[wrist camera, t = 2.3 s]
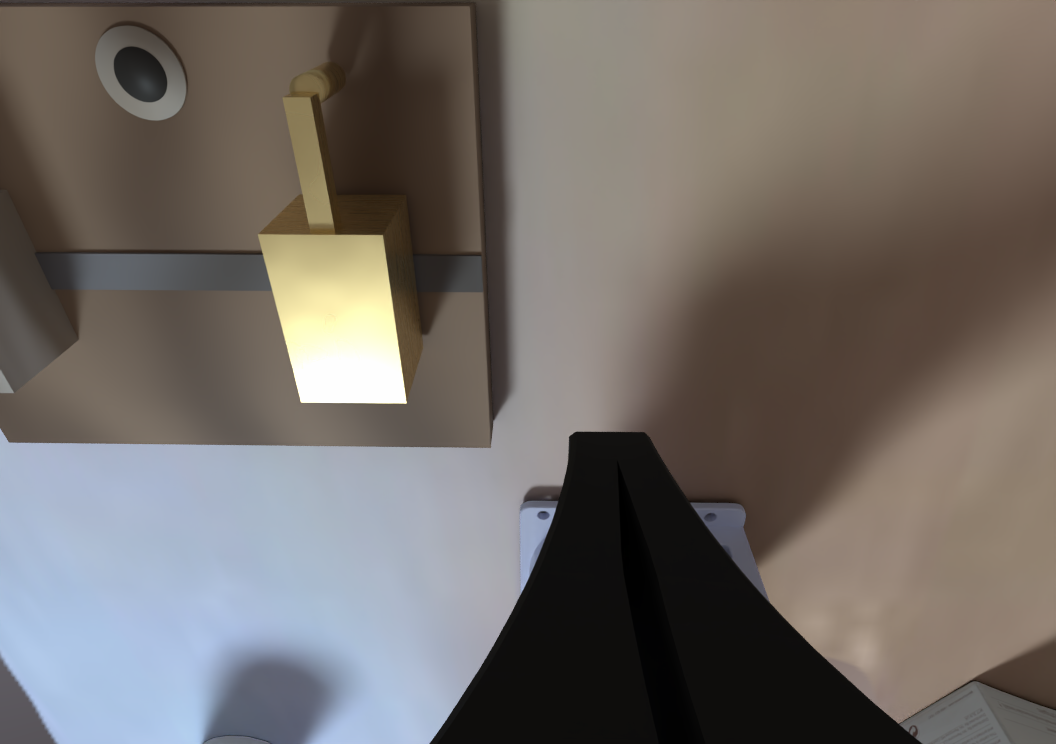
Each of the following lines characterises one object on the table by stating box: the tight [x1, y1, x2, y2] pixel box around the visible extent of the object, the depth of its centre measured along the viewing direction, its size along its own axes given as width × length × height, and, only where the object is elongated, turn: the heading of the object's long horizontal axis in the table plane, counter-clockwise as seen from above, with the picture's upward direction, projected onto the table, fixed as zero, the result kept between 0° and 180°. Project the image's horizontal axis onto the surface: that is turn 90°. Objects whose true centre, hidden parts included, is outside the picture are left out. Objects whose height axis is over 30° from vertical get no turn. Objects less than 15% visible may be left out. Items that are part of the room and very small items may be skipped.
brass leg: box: [258, 62, 423, 403], centre depth 16 cm, size 3×8×3 cm, turn 0°
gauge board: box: [0, 3, 493, 448], centre depth 18 cm, size 18×14×4 cm
